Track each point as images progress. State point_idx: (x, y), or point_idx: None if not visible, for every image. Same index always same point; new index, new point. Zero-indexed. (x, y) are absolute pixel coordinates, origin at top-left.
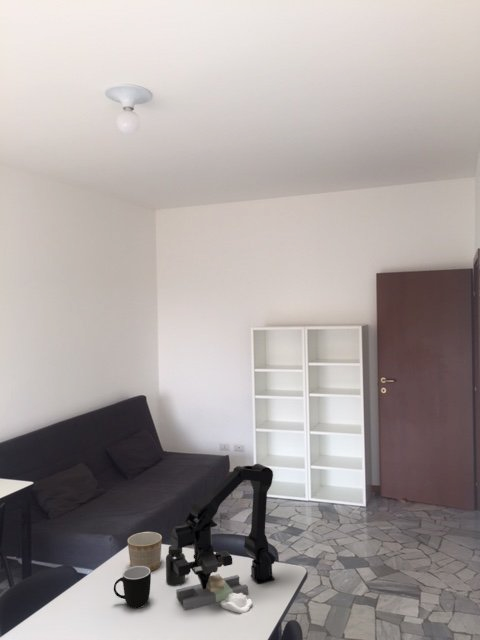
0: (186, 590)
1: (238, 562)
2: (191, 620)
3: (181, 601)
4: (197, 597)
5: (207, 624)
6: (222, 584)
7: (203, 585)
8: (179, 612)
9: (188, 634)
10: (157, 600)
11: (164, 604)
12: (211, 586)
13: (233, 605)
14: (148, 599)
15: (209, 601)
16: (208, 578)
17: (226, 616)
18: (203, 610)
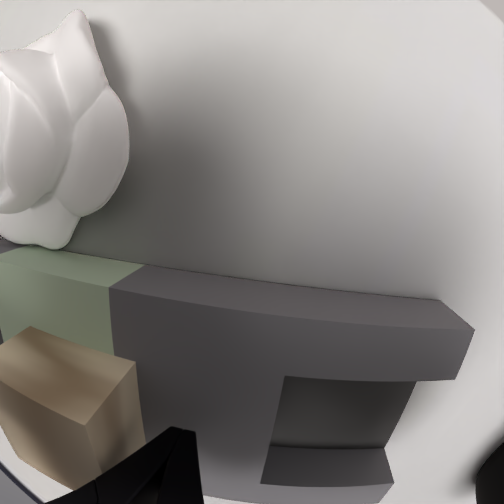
0: (326, 483)
1: (9, 457)
2: (461, 128)
3: (392, 414)
4: (322, 355)
5: (367, 3)
6: (10, 348)
7: (185, 459)
8: (477, 295)
9: (501, 21)
10: (458, 460)
11: (468, 421)
12: (101, 393)
13: (74, 15)
14: (502, 459)
15: (199, 282)
16: (90, 488)
17: (174, 19)
18: (309, 204)
